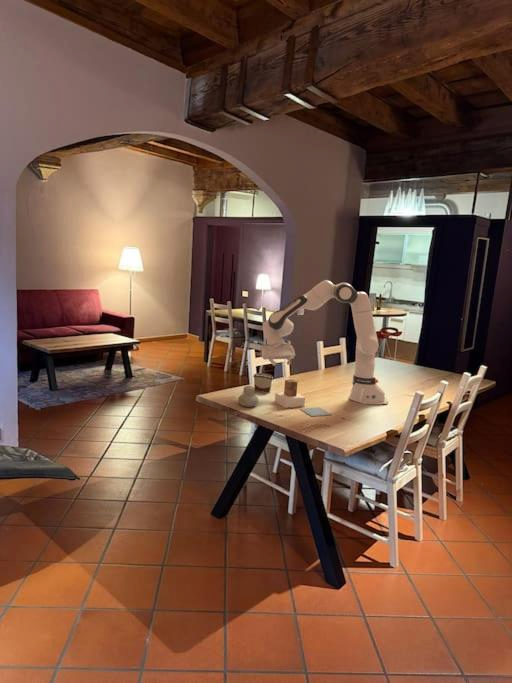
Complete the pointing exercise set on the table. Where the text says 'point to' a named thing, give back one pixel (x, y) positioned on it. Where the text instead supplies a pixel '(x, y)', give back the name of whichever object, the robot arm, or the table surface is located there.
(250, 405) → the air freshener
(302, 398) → the block
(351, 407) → the table surface
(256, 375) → the food container
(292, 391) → the walnut block
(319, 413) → the mat
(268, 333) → the robot arm
